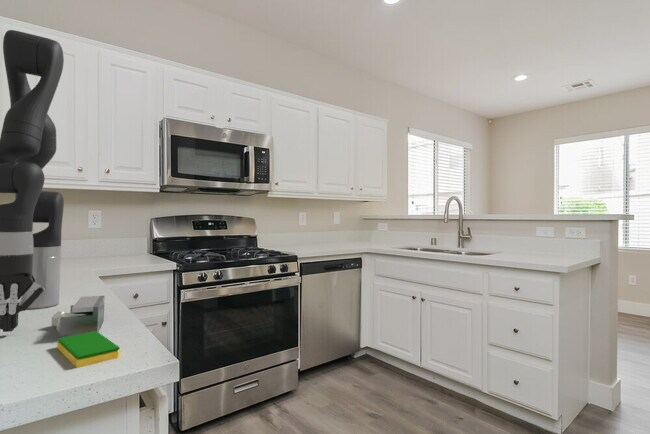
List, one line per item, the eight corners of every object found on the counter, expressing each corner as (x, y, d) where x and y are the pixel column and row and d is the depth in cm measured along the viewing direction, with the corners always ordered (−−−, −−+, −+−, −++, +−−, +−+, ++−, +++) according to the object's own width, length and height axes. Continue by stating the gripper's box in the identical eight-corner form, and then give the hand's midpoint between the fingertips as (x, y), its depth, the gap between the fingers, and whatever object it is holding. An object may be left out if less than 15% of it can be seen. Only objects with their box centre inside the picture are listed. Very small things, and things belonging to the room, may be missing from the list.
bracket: (70, 323, 90) (71, 297, 90) (103, 320, 93) (104, 295, 93) (59, 338, 79) (60, 308, 79) (97, 335, 82) (98, 306, 82)
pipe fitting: (67, 338, 81) (92, 327, 88) (66, 321, 81) (91, 311, 88) (37, 335, 83) (64, 324, 89) (37, 318, 83) (64, 309, 89)
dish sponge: (96, 341, 79) (96, 330, 79) (119, 359, 70) (120, 347, 70) (56, 349, 74) (57, 337, 74) (76, 370, 65) (77, 356, 65)
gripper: (52, 250, 86) (49, 323, 86) (-21, 250, 81) (-24, 328, 81) (43, 253, 79) (40, 332, 79) (-37, 254, 74) (-40, 339, 74)
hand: (8, 330), depth 80 cm, fingers closed
